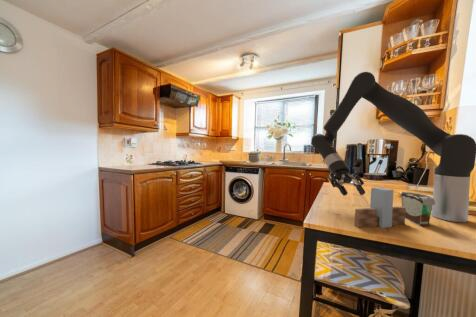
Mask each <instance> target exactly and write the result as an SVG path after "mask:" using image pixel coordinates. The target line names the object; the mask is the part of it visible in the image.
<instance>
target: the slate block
mask: <svg viewBox="0 0 476 317" xmlns="http://www.w3.org/2000/svg"><path fill="white" fill-rule="evenodd" d="M394 192H395V191H394V189H390V188H385V187H381V186H380V187H379V186H378V187H370V205H369V208H374V209H377V210H376V216H377V217H379V226H378V227H379V228H382V229H385V228H392V210H393V207H394Z"/></svg>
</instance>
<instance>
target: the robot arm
mask: <svg viewBox="0 0 476 317" xmlns="http://www.w3.org/2000/svg"><path fill="white" fill-rule="evenodd" d="M361 99H364V100H366V101H367V102H369V103H371V104H372V105H374V106H375V108H377V109H378V110H379V111H380V112H381V113H382V114H383V115H384V116H386V117H387V118H388V119H389V120H391V121H392V122H393V123H395V124H396V125H398V126H399V127H401V128H402V129H403V130H405V131H407V132H408V133H410V134H411V135H413V136H414V137H416V138H417V139H419V140H420V141H421V142H422V143H423V144H424V145H425V146H427V148H428V149H430V150H431V151H432V152H433V153H435V154H436V155H437V156H438V157H440V158H439V164H438V165H437V166H436V167H435V168H434V171H433V172H434V174H433V175H434V176H433V188H432V189H433V192H432V197H433V199H434V200H435V205H432V210H431V216H432V217H434V218H437V219H440V220H444V221H448V222H455V223H468V221H469V205H470V184H471V174H472V172H473V171H474V168H475V164H476V140H475V139H474V138H473V137H472V136H469V135H468V134H463V133H456V134H450V133H448V132H446V131H444V130H443V129H441V128H439V127H438V126H437V125H436V124H434V123H433V121H432V120H431V119H430V118H429V116H428V115H427V113H426V112H425V111H424V110H423V109H422V108H421V107H419V106H418V105H417V104H415V103H414V102H412V101H410V99H409V100H408V99H407V98H405V97H404V96H400V95H398V94H396V93H394V92H391V91H389V90H387V89H385V88H384V87H383V86H382V85H380V84H379V83H378V82H377V81H376V77H375V76H374V74H373V73H372V72H369V71H363V72H360V73H358V74H357V75H355V76H354V77H353V78H352V80H351V82H350V85H349V87H348V89H347V90H346V92H345V95H344V96H343V98H342V100H341V101H340V103H339V104H338V105H337V107H336V109H335V110H333V112H332V114H331V115H330V116H329V118H328V119H327V121H325V122H326V123H325V124H324V126H323V130H324V131H326V132H325V133H324V134H322V133H315V134H314V135H313V136H312V137H311V145H312V147H313V148H314V149H315V150H316V151H317V152H318V153H319V154H320V155H321V157H322V159H323V160H324V163H325V165H326V167H327V168H328V171H329V172H330V174H329V175H328V176H327V178H328V180H329V182H330V183H331V185H332V188H337V189H338V190H339V192H340V193H341V195H342V196H344V197H345V196H347V195H348V190H347V189H346V187H344V184H347V185H348V184H349V185H350V186H353V187H355V189H356V190H357V192H358V193H359V195H361V196H364V195H365V194H366V190H365V189H364V187H363V185H364V184H365V182H364V181H363V180H362V178H361V176H359V174H358V173H357V172H355V173H351V172H350V168H349V166H348V165H347V162H345V160H344V159H343V158H342V156H341V155H340V154H339V152H338V151H337V149H336V148H334V146H332V145H333V142H334V140H335V138H336V135H337V133H338V131H339V130H340V128H341V127H342V126H343V124H344V123H345V122H346V121H347V119H348V117H349V115H350V114H351V112H352V111H353V109H354V108H355V106H356V105H357V103H359V101H360V100H361Z"/></svg>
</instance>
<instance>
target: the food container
mask: <svg viewBox="0 0 476 317" xmlns="http://www.w3.org/2000/svg"><path fill="white" fill-rule="evenodd" d="M400 197H401V206H402V207H405V208H406V211H405V220H407V221H409V222H411V223H413V224H415V225H417V226H419V227H428V226H429V225H430V220H431V216H432V205H435V200H434V199H433V196H431V195H427V194H421V193H417V192H408V191H402V192H401V193H400Z"/></svg>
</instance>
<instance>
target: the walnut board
mask: <svg viewBox="0 0 476 317" xmlns="http://www.w3.org/2000/svg"><path fill="white" fill-rule="evenodd" d="M376 210H377V209H374V208H370V207H367V208H366V207H365V208H355V210H354V226H355V227H357V228H367V227H379V217H377V216H376ZM405 211H406V208H405V207H402V205H401V206H393V210H392V225H404V224H405V223H406V219H405Z"/></svg>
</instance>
